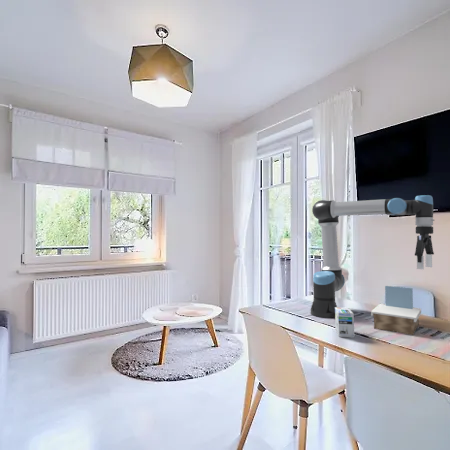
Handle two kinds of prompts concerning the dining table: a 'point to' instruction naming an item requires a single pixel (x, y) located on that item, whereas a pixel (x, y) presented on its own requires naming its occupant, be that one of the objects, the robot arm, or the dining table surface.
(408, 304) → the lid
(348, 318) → the light bulb box
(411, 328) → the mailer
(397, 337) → the dining table surface
